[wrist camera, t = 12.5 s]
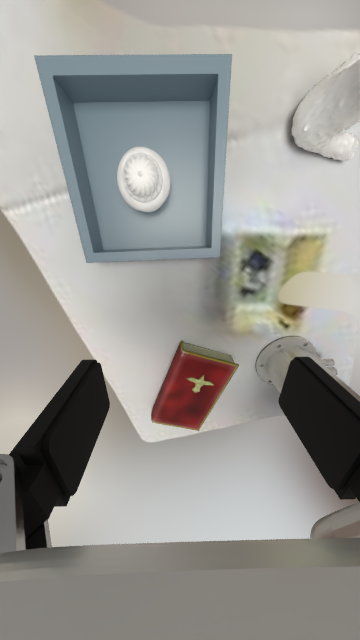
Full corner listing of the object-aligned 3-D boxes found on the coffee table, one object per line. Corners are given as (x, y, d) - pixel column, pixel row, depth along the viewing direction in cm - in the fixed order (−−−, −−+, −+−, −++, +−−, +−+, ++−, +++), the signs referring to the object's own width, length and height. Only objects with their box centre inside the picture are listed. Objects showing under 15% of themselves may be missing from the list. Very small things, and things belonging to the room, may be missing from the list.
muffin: (115, 168, 23) (95, 145, 17) (160, 150, 23) (157, 119, 16) (135, 221, 26) (124, 218, 20) (176, 206, 25) (178, 197, 19)
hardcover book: (151, 407, 45) (150, 423, 41) (180, 338, 37) (181, 351, 33) (196, 415, 47) (198, 431, 44) (232, 353, 39) (239, 366, 35)
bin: (218, 91, 21) (232, 54, 17) (212, 253, 29) (219, 257, 25) (63, 93, 21) (34, 55, 16) (99, 257, 29) (86, 262, 24)
